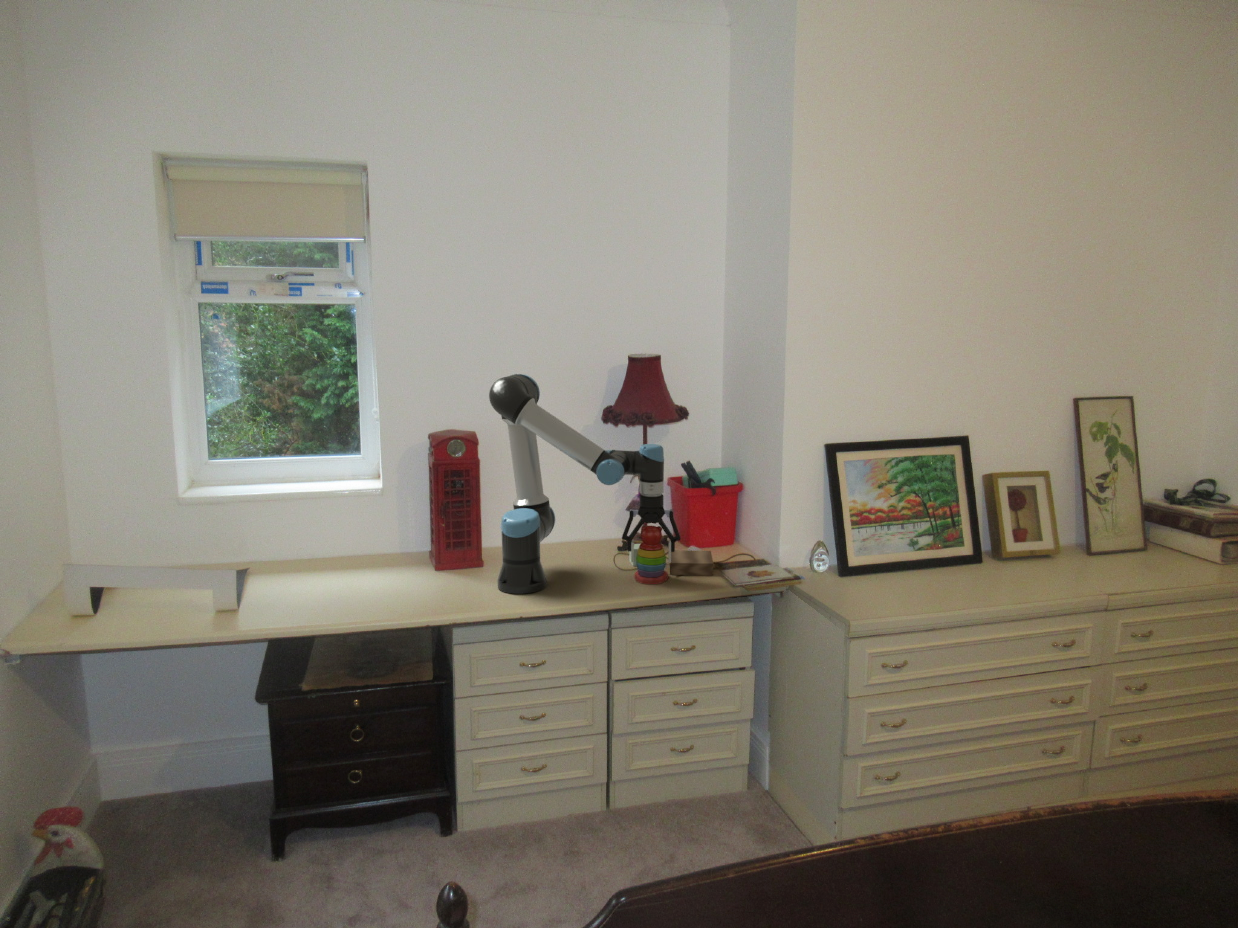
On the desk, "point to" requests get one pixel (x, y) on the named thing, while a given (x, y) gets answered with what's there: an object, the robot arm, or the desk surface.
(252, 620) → the desk surface
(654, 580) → the stacking bear
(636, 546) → the block
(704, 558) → the base slab
